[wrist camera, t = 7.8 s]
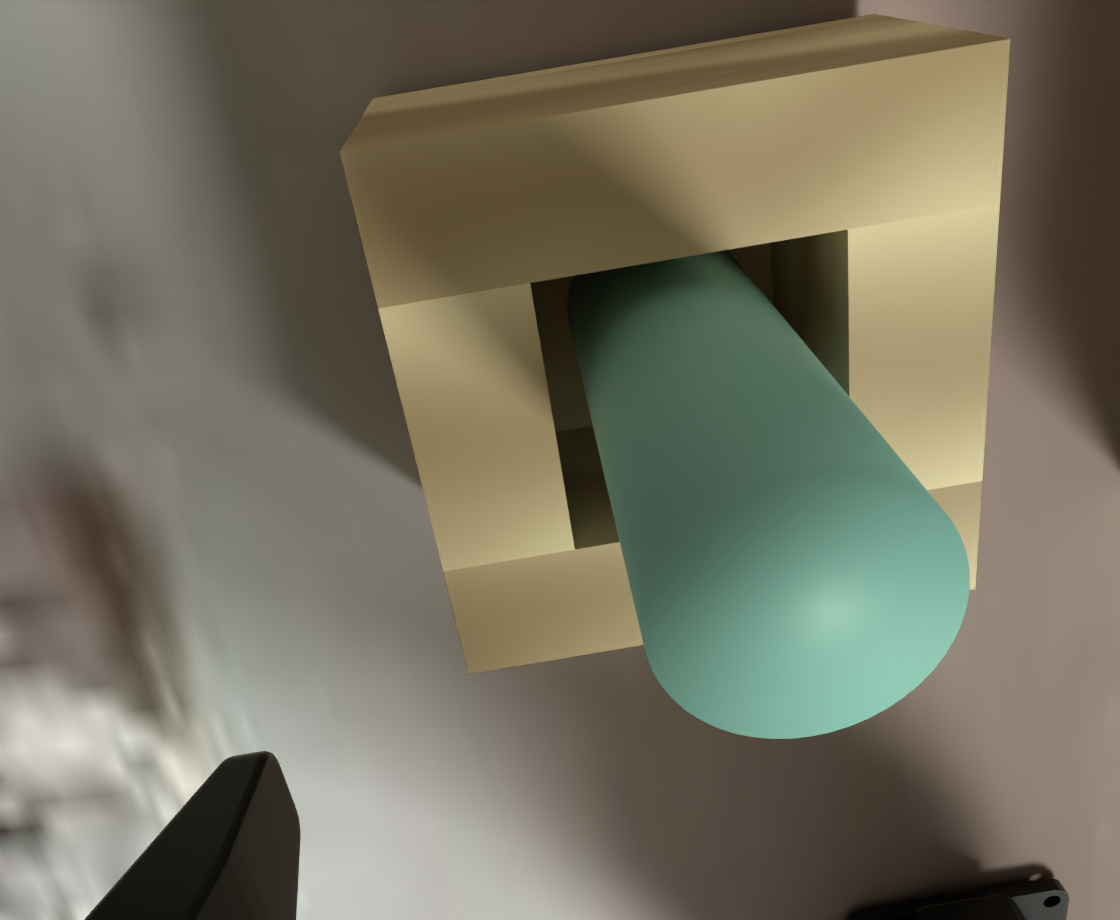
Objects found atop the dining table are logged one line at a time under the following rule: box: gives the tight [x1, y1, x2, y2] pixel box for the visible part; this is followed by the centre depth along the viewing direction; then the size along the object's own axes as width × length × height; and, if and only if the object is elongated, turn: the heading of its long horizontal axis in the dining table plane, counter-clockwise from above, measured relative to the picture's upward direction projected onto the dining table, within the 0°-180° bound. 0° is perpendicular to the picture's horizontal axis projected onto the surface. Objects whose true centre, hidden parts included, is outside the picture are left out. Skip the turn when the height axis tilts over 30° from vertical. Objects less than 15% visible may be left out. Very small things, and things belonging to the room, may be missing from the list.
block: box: [340, 14, 1010, 674], centre depth 17 cm, size 9×9×5 cm
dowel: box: [568, 250, 970, 739], centre depth 15 cm, size 3×3×10 cm
